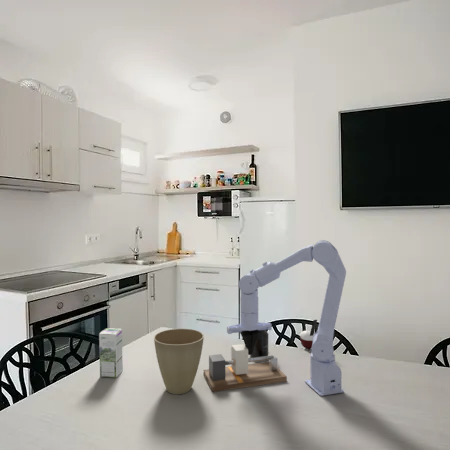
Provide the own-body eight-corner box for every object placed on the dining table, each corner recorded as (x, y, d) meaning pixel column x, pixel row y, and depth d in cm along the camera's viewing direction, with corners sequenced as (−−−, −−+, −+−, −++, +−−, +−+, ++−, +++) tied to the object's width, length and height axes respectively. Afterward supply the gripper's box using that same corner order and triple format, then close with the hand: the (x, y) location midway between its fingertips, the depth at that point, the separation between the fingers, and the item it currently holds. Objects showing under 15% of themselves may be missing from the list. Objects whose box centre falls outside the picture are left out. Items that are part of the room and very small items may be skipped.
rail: (277, 370, 117) (277, 355, 116) (217, 378, 111) (217, 363, 111) (274, 367, 118) (274, 353, 118) (216, 375, 113) (216, 360, 113)
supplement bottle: (269, 360, 128) (269, 327, 128) (250, 360, 129) (250, 327, 128) (267, 352, 135) (267, 321, 135) (249, 352, 135) (249, 321, 135)
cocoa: (299, 344, 145) (298, 314, 146) (314, 343, 145) (313, 314, 145) (303, 351, 136) (301, 320, 136) (319, 351, 136) (318, 319, 136)
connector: (225, 379, 110) (225, 360, 110) (212, 381, 109) (212, 361, 109) (221, 372, 115) (221, 354, 115) (209, 374, 114) (208, 355, 114)
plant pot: (196, 403, 99) (196, 346, 99) (146, 398, 102) (145, 342, 102) (209, 379, 114) (209, 329, 113) (165, 375, 117) (164, 326, 116)
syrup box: (123, 370, 120) (122, 327, 120) (116, 378, 114) (115, 333, 114) (107, 369, 121) (106, 327, 120) (99, 377, 115) (98, 333, 115)
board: (286, 381, 112) (286, 376, 112) (212, 391, 105) (212, 386, 105) (271, 365, 124) (271, 361, 124) (203, 374, 117) (203, 369, 117)
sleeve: (248, 373, 112) (248, 349, 112) (236, 374, 111) (236, 350, 111) (243, 366, 117) (243, 344, 117) (231, 368, 116) (231, 345, 116)
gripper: (265, 306, 120) (265, 346, 121) (224, 310, 116) (224, 351, 117) (274, 312, 114) (274, 354, 114) (230, 315, 110) (230, 359, 110)
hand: (249, 353), depth 115 cm, fingers closed
